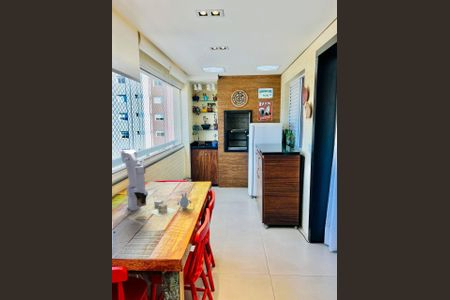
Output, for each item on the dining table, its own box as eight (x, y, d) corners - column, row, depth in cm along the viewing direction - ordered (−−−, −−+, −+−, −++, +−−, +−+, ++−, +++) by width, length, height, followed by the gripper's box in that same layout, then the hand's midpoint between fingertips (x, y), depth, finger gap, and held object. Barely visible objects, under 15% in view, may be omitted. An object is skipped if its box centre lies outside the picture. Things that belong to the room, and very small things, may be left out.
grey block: (154, 207, 177) (154, 201, 176) (158, 205, 181) (158, 199, 180) (159, 208, 175) (159, 202, 174) (163, 206, 179) (163, 200, 178)
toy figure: (190, 206, 177) (190, 191, 176) (192, 209, 171) (192, 193, 170) (176, 209, 173) (175, 193, 171) (178, 211, 167) (177, 195, 166)
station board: (148, 212, 167) (148, 211, 167) (165, 206, 178) (165, 206, 177) (159, 217, 158) (159, 216, 158) (177, 211, 168) (176, 210, 168)
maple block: (158, 211, 167) (158, 205, 167) (163, 209, 171) (163, 203, 170) (161, 212, 164) (161, 206, 164) (167, 210, 168) (167, 204, 167)
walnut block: (136, 205, 162) (136, 199, 162) (142, 203, 166) (142, 197, 165) (140, 206, 159) (139, 200, 159) (146, 205, 163) (145, 198, 162)
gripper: (129, 182, 163) (130, 201, 164) (140, 186, 153) (141, 206, 155) (139, 180, 168) (140, 199, 170) (150, 184, 158) (151, 203, 160)
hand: (141, 202), depth 162 cm, fingers closed on walnut block, 4 cm apart
